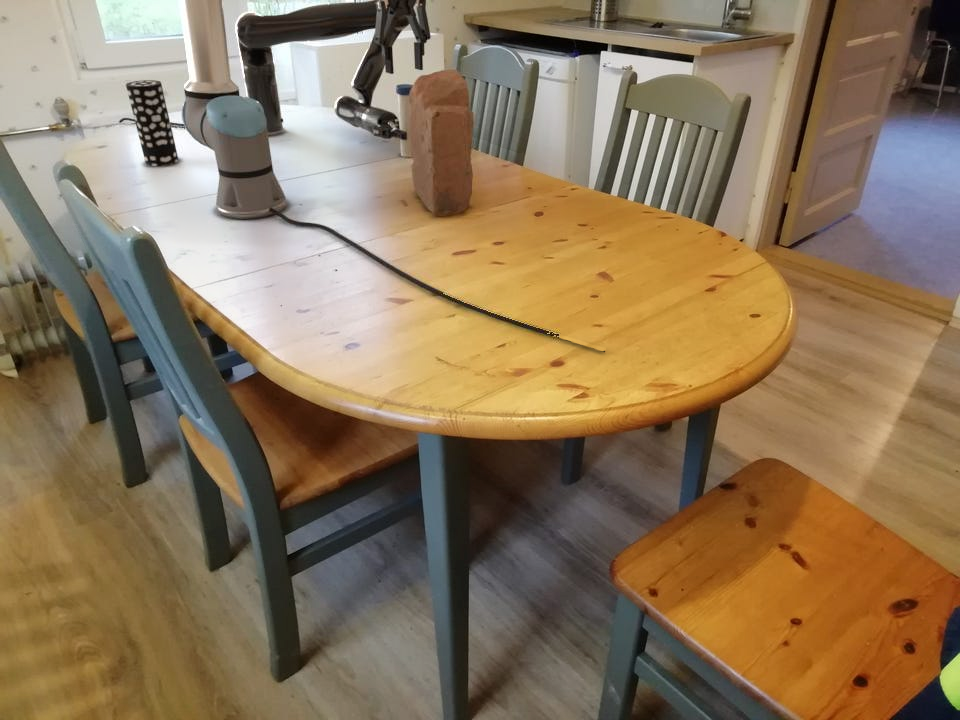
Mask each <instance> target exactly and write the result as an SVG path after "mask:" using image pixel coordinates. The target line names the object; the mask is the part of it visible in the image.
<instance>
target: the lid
mask: <svg viewBox="0 0 960 720" xmlns="http://www.w3.org/2000/svg"><path fill="white" fill-rule="evenodd" d="M412 86H413V84H409V83H401V84H397V85H396V87H395V90H396V91H395V92H396V94H397V95H398V94H400V95H409V94H410V91H411V88H412Z"/></svg>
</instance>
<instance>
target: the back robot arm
mask: <svg viewBox="0 0 960 720" xmlns="http://www.w3.org/2000/svg"><path fill="white" fill-rule="evenodd" d="M376 1H377V0H367V1H359V2H358V1H355V2H354V1H351V2H349V1H348V2H335V3H334V2H333V3H323V4H316V5H312V6H306V7H303V8H300V9H296V10H293V11H290V12H288V13H283V14H271V15H264V14H263V15H262V14H259V13H257V12H253V11H247V12H244V13H242V14H241V15H239V17H238V18H237V20H236V23H235V33H236V39H237V44H238V50H239V57H240V63H241V69H242V76H243V83H244V88H245V94H246V97H249V98H252V99H254V100H256V101H258V102H259V103H260V104H261V106H262V107H263V110H264V115H265V117H266V122H267V132H268V137H270V136H277V135H281V134H283V133H284V132H285V130H284V126H283V123H284V119H283V117H282V110H281V104H280V96H279V89H278V82H277V81H278V80H277V75H276V68H275V66H276V65H275V60H274V54H273V48H272V47H273V46H278V45H283V44H287V43H302V42H303V43H304V42H317V41H319V42H320V41H327V40H328V41H329V40H335V39H340V38H344V37H348V36H353V35H356V34H357V33H361V32H364V31H367V30H375V27H376V16H377V7H376ZM388 12H389V7H388V5H387V9H386V20H385V25H386V22H387V19H388V16H387V15H388ZM393 15H394V14H393ZM409 26H410V23H409V21H408V19H407V17H406V16H405V15H402V16H399V18H398V20H397V21H396V25H395V28H394V31H393V34H392V38H391V41H390V44H389V46H392V47H393V46H394V43H395V42H396V41H397V39H398V37H399V36H400V35H401V33H402V31H403V30H405V29H406V28H407V27H409ZM374 37H375V32H374V33H373V36H372V38H371V41H370V43H369V45H368V48H367V50H366V52H365V53H364V55H363V58H362V59H361V62H360V63H359V65H358V67H357V70H356V72H355V74H354V76H353V79H352V81H351V83H350V86H351V89H352V90H353V91H354V92H355V93H356V94H357V99H356V98H354V97H352V96H351V95H350V96H349V95H343V96H340V97H338V98H337V100H336V101H335V103H334V107H333V108H334V113H335V115H336V117H337V118H338V119H340V120H342V121H343V122H346V123H347V124H349V125H350V126H352V127H354V128H357V129H358V128H360V129H362V130H365V131H367V132H369V134H372V135H373V136H374V137H378V138H382V139H384V140H386V139H387V140H390V139H399V140H400V139H402V140H407V133H406V132H405V131H403V130H400V124H399V117H397V115H396V113H394V112H392V111H389V110H386V109H383V108H380V107H375V106H372V102H373V96H374V93H375V90H376V88H377V86H378V83H379V81H380V79H381V77H382V75H383V72H384V69H385V60H384V59H383V58H382V47H381V45H380V44H377V43H375V42H374ZM124 121H129V122H135V119H134V118H132V117H131V118H130V117H123V118H121V119H119V121H118V123H123V122H124ZM170 124H171V126H178V127H179V126H180V127H185V126H184V124H183V123H181V122H180V123H179V122H172V121H170Z"/></svg>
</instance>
